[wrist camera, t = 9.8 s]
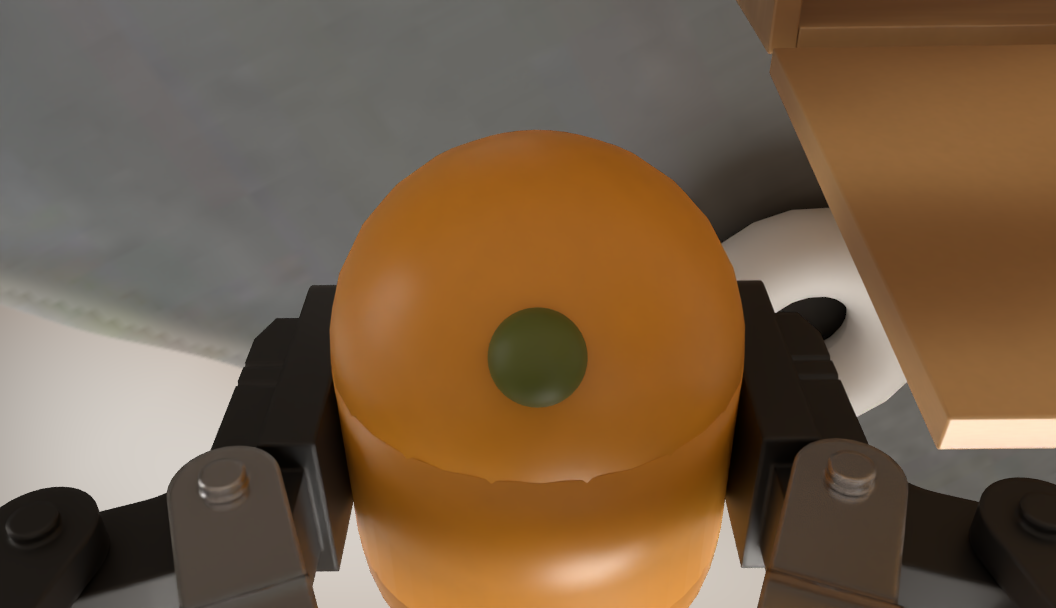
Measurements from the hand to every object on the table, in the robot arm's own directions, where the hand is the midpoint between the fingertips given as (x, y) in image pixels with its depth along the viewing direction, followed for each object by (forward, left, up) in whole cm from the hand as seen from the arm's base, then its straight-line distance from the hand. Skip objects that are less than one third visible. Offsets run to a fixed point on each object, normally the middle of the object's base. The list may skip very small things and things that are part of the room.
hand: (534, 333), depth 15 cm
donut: (+11, -13, -20) cm, 27 cm away
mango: (0, 0, -1) cm, 1 cm away
